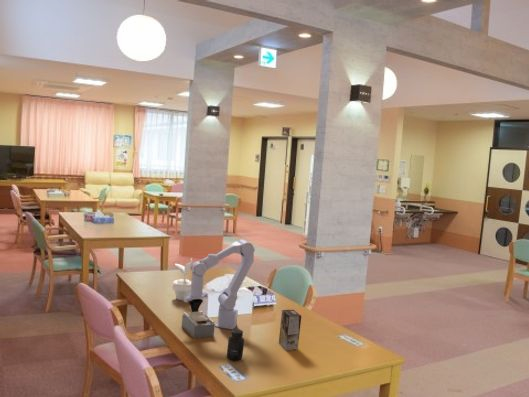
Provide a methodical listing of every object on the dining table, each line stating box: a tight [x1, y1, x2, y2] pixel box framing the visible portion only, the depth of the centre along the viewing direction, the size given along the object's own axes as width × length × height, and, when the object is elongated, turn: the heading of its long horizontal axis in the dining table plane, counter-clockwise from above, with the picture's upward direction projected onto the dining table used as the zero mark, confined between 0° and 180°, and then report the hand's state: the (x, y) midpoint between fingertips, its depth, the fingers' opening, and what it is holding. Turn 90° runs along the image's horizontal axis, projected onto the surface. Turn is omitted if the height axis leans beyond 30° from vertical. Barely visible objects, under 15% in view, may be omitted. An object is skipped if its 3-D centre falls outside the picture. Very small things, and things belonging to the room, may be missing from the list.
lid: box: [188, 310, 208, 322], centre depth 235 cm, size 7×7×2 cm
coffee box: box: [278, 309, 302, 351], centre depth 227 cm, size 9×6×16 cm
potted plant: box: [172, 256, 194, 301], centre depth 282 cm, size 13×12×25 cm
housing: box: [181, 311, 216, 339], centre depth 235 cm, size 16×10×7 cm, turn 30°
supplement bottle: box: [226, 328, 245, 362], centre depth 208 cm, size 7×7×12 cm
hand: (194, 313), depth 240 cm, fingers closed
